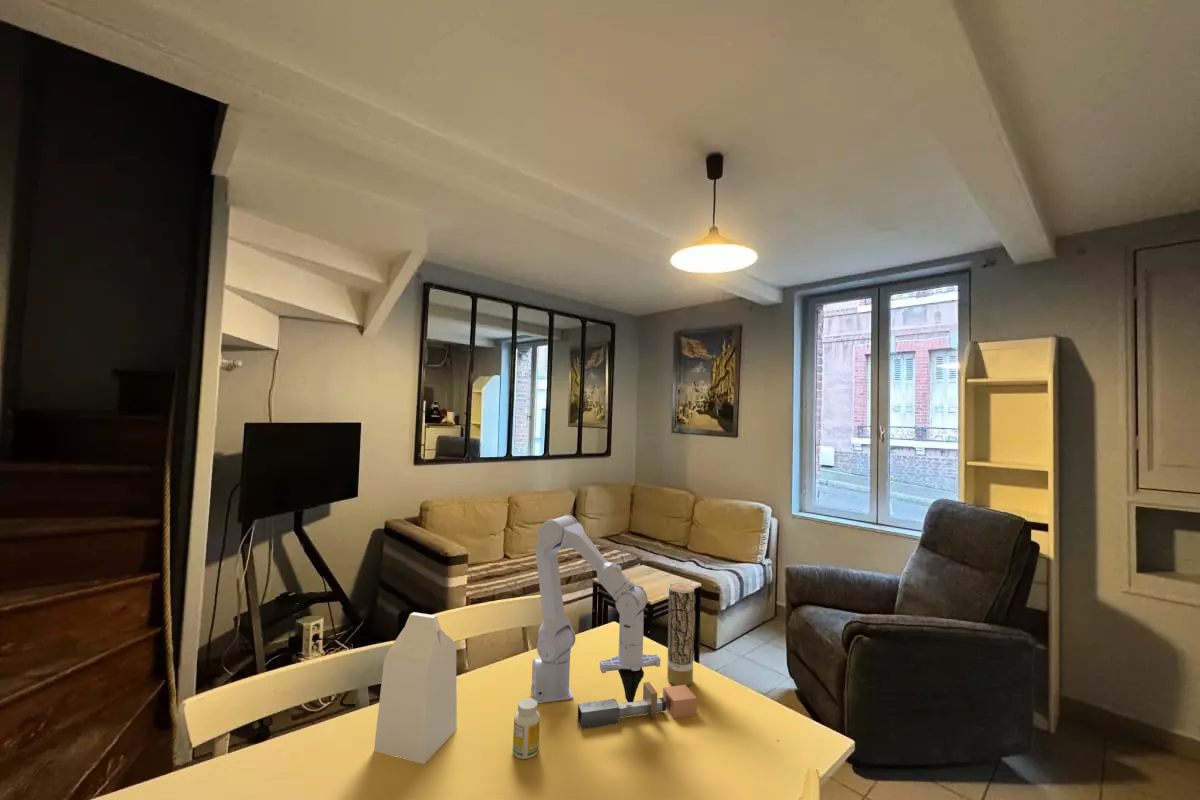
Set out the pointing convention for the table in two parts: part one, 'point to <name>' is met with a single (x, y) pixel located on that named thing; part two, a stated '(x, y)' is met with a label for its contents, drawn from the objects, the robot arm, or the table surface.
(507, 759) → the table surface
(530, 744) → the supplement bottle
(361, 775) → the table surface
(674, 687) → the socket block
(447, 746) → the table surface
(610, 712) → the sleeve
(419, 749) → the milk
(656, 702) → the tube
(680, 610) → the brown cylindrical piece
